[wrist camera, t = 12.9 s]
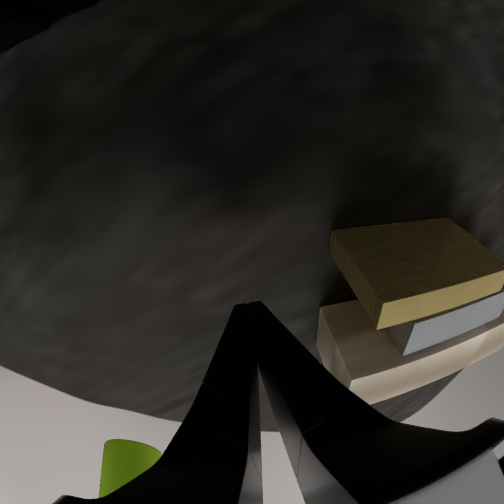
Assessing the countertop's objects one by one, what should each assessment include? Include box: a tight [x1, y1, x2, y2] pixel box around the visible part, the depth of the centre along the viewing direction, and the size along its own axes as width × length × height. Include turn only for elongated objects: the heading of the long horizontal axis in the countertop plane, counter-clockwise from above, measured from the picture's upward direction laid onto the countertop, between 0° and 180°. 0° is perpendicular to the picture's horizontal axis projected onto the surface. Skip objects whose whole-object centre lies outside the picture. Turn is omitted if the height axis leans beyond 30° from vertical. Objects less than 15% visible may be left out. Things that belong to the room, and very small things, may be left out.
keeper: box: [330, 217, 504, 330], centre depth 11 cm, size 1×7×5 cm, turn 94°
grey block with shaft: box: [386, 284, 504, 356], centre depth 15 cm, size 9×7×5 cm
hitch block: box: [316, 300, 504, 405], centre depth 14 cm, size 3×12×5 cm, turn 94°
